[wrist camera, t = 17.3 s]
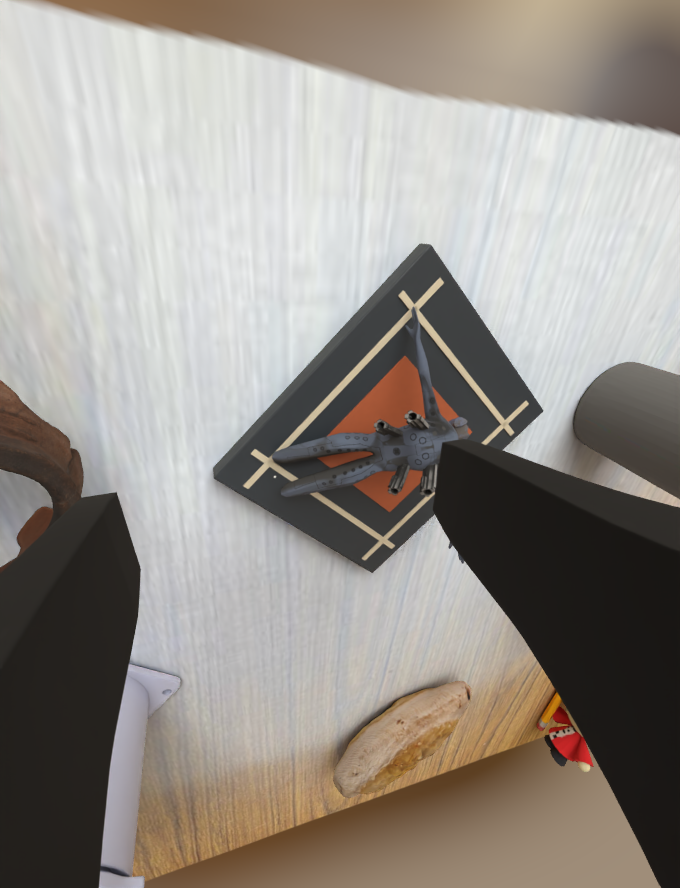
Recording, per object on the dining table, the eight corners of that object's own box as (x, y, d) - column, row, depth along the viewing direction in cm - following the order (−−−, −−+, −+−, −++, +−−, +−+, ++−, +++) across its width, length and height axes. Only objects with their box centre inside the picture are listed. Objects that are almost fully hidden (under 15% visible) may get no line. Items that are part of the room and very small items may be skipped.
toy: (515, 708, 47) (607, 622, 42) (561, 725, 48) (654, 644, 44) (547, 780, 40) (660, 687, 35) (599, 797, 42) (714, 710, 37)
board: (366, 562, 26) (373, 574, 25) (212, 467, 20) (213, 479, 19) (532, 404, 24) (545, 411, 23) (420, 242, 18) (432, 243, 17)
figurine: (298, 622, 17) (309, 568, 22) (522, 578, 17) (481, 532, 22) (225, 341, 16) (255, 352, 21) (472, 283, 15) (440, 308, 20)
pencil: (535, 725, 47) (539, 731, 46) (602, 614, 39) (608, 620, 38) (540, 723, 47) (544, 729, 47) (608, 612, 39) (614, 618, 39)
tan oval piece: (466, 679, 37) (496, 729, 33) (340, 764, 37) (356, 823, 34) (446, 656, 34) (476, 708, 31) (310, 749, 35) (323, 811, 31)
